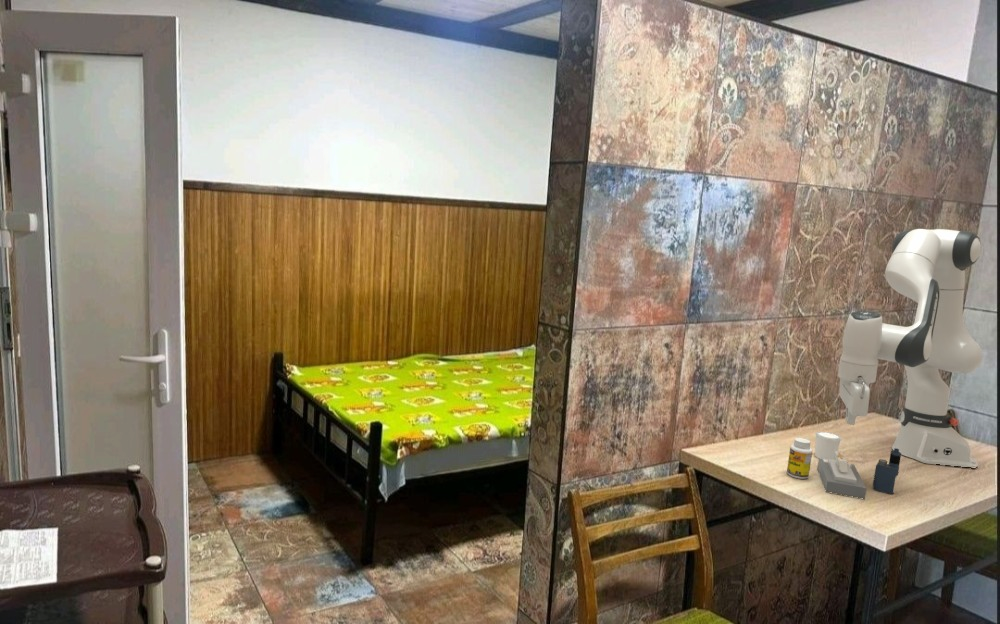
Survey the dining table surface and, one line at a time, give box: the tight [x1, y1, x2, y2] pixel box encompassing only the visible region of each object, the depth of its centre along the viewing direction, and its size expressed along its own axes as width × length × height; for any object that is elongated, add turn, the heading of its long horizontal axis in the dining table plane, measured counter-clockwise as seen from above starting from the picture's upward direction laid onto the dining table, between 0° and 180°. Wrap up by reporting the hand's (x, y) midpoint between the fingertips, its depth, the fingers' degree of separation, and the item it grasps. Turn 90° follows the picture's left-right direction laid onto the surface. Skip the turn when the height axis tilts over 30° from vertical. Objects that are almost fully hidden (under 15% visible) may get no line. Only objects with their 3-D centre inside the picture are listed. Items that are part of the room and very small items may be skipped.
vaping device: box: [872, 448, 902, 495], centre depth 173 cm, size 3×5×12 cm, turn 58°
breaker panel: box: [816, 458, 867, 500], centre depth 177 cm, size 9×18×4 cm, turn 161°
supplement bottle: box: [786, 437, 813, 480], centre depth 180 cm, size 6×6×10 cm
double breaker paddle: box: [835, 450, 848, 472], centre depth 177 cm, size 2×8×3 cm, turn 161°
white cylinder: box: [814, 431, 842, 460], centre depth 197 cm, size 7×7×7 cm
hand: (849, 423), depth 175 cm, fingers closed
